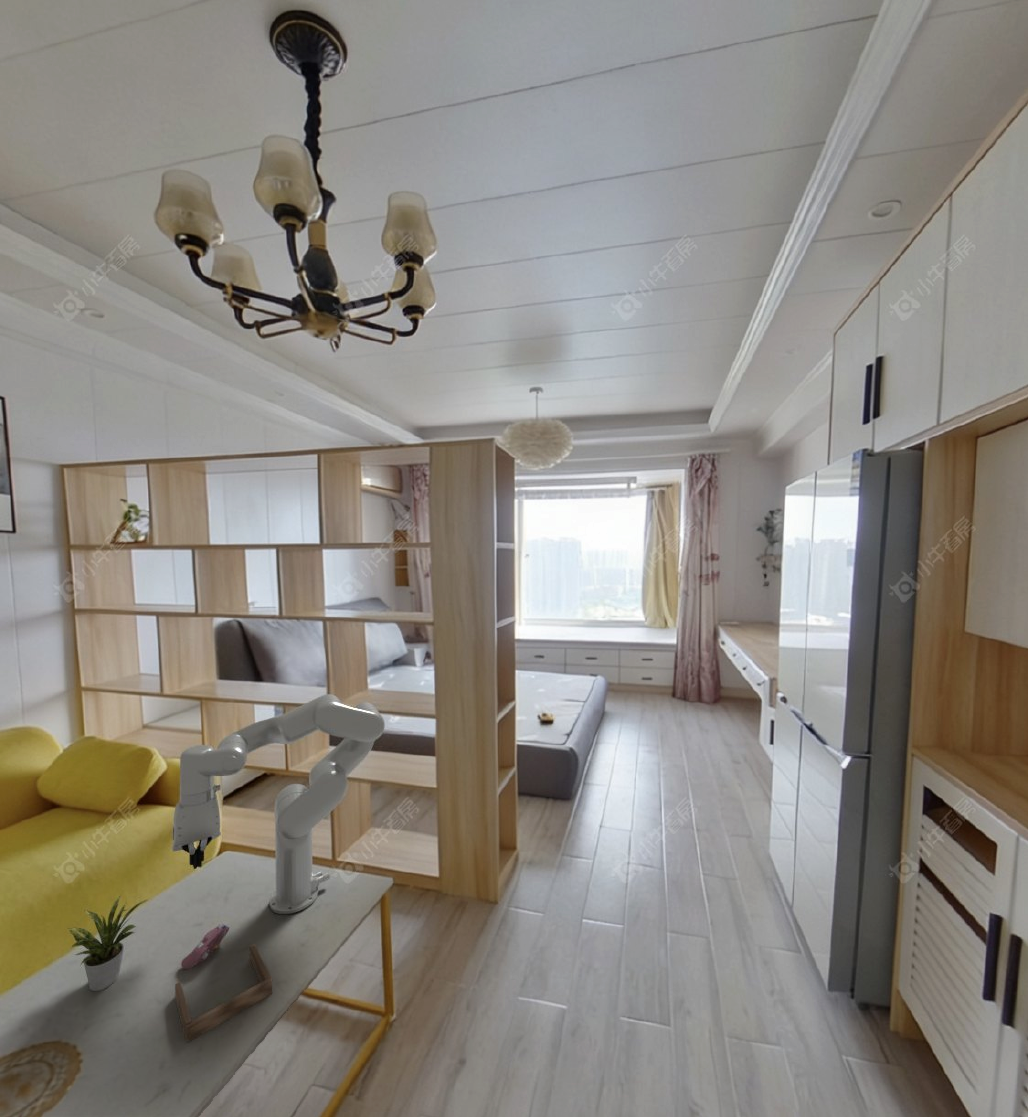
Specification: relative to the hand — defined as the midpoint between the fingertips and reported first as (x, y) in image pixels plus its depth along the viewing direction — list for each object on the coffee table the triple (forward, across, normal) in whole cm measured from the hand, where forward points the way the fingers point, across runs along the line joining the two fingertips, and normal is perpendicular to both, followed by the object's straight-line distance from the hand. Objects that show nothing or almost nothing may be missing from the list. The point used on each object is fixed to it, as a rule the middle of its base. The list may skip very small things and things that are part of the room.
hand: (196, 865), depth 127 cm
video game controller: (+17, 0, +12) cm, 20 cm away
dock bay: (+16, -1, +26) cm, 31 cm away
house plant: (+17, +17, +3) cm, 25 cm away
